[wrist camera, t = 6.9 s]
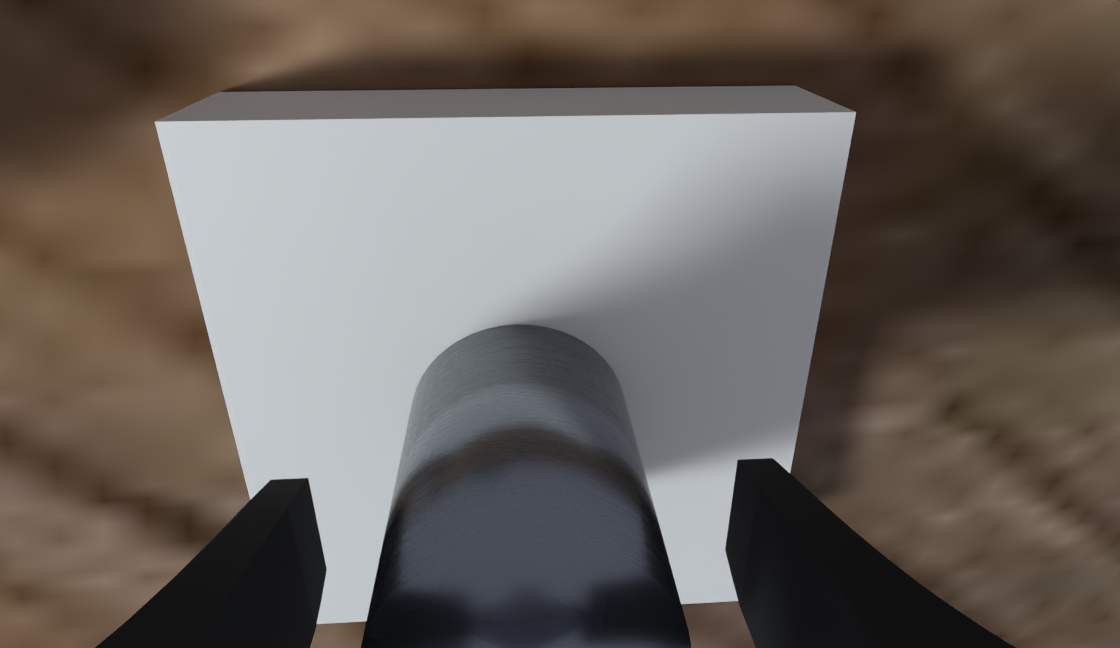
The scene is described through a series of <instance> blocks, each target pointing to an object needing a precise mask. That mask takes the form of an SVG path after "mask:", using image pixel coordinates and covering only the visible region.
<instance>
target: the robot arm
mask: <svg viewBox="0 0 1120 648" xmlns="http://www.w3.org/2000/svg"><path fill="white" fill-rule="evenodd" d="M725 551H726V555H727V559H728V563H729V567H730V571H731V575H732V579H733V583H734V587H735V590H736V594H737V598H738V601H739V605H740V608H741V610H742V613H743V616H744V618H745V621H746V623H747V626H748V629H749V631H750V634H751V636H752V639H753V641H754V644H755V646H756V648H1015V647H1014V646H1012V645H1010V644H1008V643H1007V642H1005V641H1004V640H1002V639H1000V638H999V637H997V636H996V635H994V634H993V633H991V632H989V631H988V630H986V629H985V628H983V627H981V626H980V625H979V624H977V623H976V622H974V621H973V620H971V619H970V618H968V617H967V616H965V615H964V614H962V613H961V612H959V611H958V610H956V609H955V608H953V607H952V606H950V605H949V604H947V603H946V602H944V601H943V600H942V599H940V598H939V597H937V596H936V595H935V594H933V593H932V592H930V591H929V590H928V589H926V588H925V587H924V586H922V585H921V584H919V583H918V582H917V581H916V580H914V579H913V578H912V577H910V576H909V575H908V574H907V573H905V572H904V571H903V570H901V569H900V568H899V567H897V566H896V565H895V564H894V563H892V562H891V561H890V560H888V559H887V558H886V557H885V556H883V555H882V554H881V553H880V552H879V551H877V550H876V549H875V548H874V547H872V546H871V545H870V544H869V543H868V542H866V541H865V540H864V539H863V538H862V537H860V536H859V535H858V534H857V533H856V532H855V531H853V530H852V529H851V528H850V527H849V526H848V525H846V524H845V523H844V522H843V521H842V520H841V519H840V518H838V517H837V516H836V515H835V514H834V513H833V512H832V511H831V510H829V509H828V508H827V507H826V506H825V505H824V504H823V503H822V502H821V501H819V500H818V499H817V498H816V497H815V496H814V495H813V494H812V493H811V492H810V491H808V490H807V489H806V488H805V487H804V486H803V485H802V484H801V483H800V482H799V481H798V480H796V479H795V478H794V477H793V476H792V475H791V474H790V473H789V472H788V471H787V470H786V469H784V468H783V467H782V466H781V465H780V464H779V463H778V462H777V461H775V460H774V459H773V458H765V459H742V460H738V461H737V468H736V475H735V482H734V490H733V497H732V504H731V511H730V518H729V525H728V533H727V540H726V547H725ZM326 571H327V569H326V564H325V559H324V554H323V549H322V544H321V539H320V534H319V529H318V524H317V519H316V514H315V509H314V504H313V499H312V494H311V489H310V484H309V480H308V478H298V479H275V480H270V481H269V482H268V483H267V484H266V485H265V486H264V487H263V488H262V489H261V490H260V491H259V492H258V493H257V494H256V495H255V496H254V497H253V498H252V499H251V500H250V501H249V502H248V503H247V504H246V505H245V506H244V507H243V508H242V509H241V510H240V511H239V512H238V514H237V515H236V516H235V517H234V518H233V519H232V520H231V521H230V522H229V523H228V524H227V525H226V526H225V527H224V528H223V529H222V530H221V531H220V532H219V533H218V534H217V535H216V536H215V537H214V538H213V539H212V540H211V541H210V542H209V543H208V544H207V545H206V546H205V547H204V548H203V549H202V550H201V551H200V552H199V553H198V554H197V555H196V556H195V557H194V558H193V559H192V560H191V561H190V562H189V563H188V564H187V565H186V566H185V567H184V568H183V569H182V570H181V571H180V572H179V573H178V574H177V575H176V576H175V577H174V578H173V579H172V580H171V581H170V582H169V583H168V584H167V585H166V586H165V587H163V588H162V589H161V590H160V591H159V592H158V593H157V594H156V595H155V596H154V597H153V598H151V599H150V600H149V601H148V602H147V603H146V604H145V605H144V606H143V607H142V608H141V609H140V610H138V611H137V612H136V613H135V614H134V615H133V616H132V617H131V618H130V619H129V620H127V621H126V622H125V623H124V624H123V625H122V626H120V627H119V628H118V629H117V630H116V631H115V632H113V633H112V634H111V635H110V636H109V637H107V638H106V639H105V640H104V641H103V642H101V643H100V644H99V645H98V646H97V647H95V648H310V645H311V642H312V639H313V635H314V632H315V629H316V624H317V619H318V614H319V609H320V604H321V599H322V593H323V588H324V582H325V577H326Z"/></svg>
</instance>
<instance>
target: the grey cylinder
mask: <svg viewBox="0 0 1120 648" xmlns="http://www.w3.org/2000/svg"><path fill="white" fill-rule="evenodd" d="M361 648H691V643H690V637H689V631H688V627H687V624H686V620H685V616H684V613H683V609H682V606H681V602H680V598H679V595H678V591H677V587H676V584H675V580H674V576H673V573H672V569H671V566H670V562H669V558H668V555H667V551H666V547H665V544H664V540H663V537H662V533H661V529H660V526H659V522H658V518H657V515H656V511H655V508H654V504H653V500H652V497H651V493H650V489H649V486H648V482H647V478H646V475H645V471H644V468H643V464H642V460H641V457H640V453H639V449H638V446H637V442H636V439H635V435H634V431H633V428H632V424H631V420H630V417H629V413H628V409H627V406H626V402H625V399H624V395H623V392H622V389H621V386H620V383H619V381H618V379H617V377H616V375H615V373H614V371H613V370H612V368H611V367H610V366H609V364H608V363H607V362H606V360H605V359H604V358H603V357H602V356H601V355H600V354H599V353H598V352H597V351H595V350H594V349H593V348H591V347H590V346H589V345H588V344H586V343H585V342H583V341H581V340H579V339H578V338H576V337H574V336H572V335H569V334H567V333H564V332H562V331H559V330H556V329H552V328H548V327H543V326H536V325H521V324H515V325H504V326H498V327H493V328H488V329H485V330H482V331H479V332H476V333H473V334H471V335H469V336H467V337H465V338H462V339H460V340H459V341H457V342H456V343H454V344H452V345H451V346H449V347H448V348H447V349H446V350H444V351H443V352H442V353H441V354H440V355H438V356H437V357H436V359H435V360H434V361H433V362H432V363H431V364H430V365H429V366H428V368H427V369H426V371H425V372H424V374H423V375H422V377H421V379H420V381H419V383H418V385H417V388H416V391H415V394H414V397H413V401H412V406H411V411H410V416H409V420H408V425H407V430H406V435H405V440H404V444H403V449H402V454H401V459H400V463H399V468H398V473H397V478H396V483H395V487H394V492H393V497H392V502H391V506H390V511H389V516H388V521H387V526H386V530H385V535H384V540H383V545H382V550H381V554H380V559H379V564H378V569H377V573H376V578H375V583H374V588H373V593H372V597H371V602H370V607H369V612H368V616H367V621H366V626H365V631H364V636H363V640H362V645H361Z"/></svg>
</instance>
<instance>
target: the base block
mask: <svg viewBox="0 0 1120 648" xmlns="http://www.w3.org/2000/svg"><path fill="white" fill-rule="evenodd" d="M855 116H856V112H855V111H853V110H850V109H848V108H846V107H843V106H841V105H839V104H836V103H834V102H832V101H830V100H827V99H825V98H823V97H820V96H818V95H816V94H813V93H811V92H809V91H807V90H804V89H802V88H800V87H797V86H707V87H618V88H529V89H440V90H351V91H262V92H218V93H216V94H214V95H211V96H209V97H207V98H205V99H203V100H201V101H198V102H196V103H194V104H192V105H190V106H188V107H185V108H183V109H181V110H179V111H177V112H174V113H172V114H170V115H168V116H166V117H164V118H161V119H159V120H157V121H155V125H156V129H157V133H158V137H159V141H160V145H161V149H162V153H163V157H164V161H165V164H166V168H167V172H168V176H169V180H170V184H171V188H172V192H173V196H174V200H175V204H176V208H177V212H178V216H179V220H180V224H181V228H182V232H183V236H184V240H185V244H186V248H187V252H188V255H189V259H190V263H191V267H192V271H193V275H194V279H195V283H196V287H197V291H198V295H199V299H200V303H201V307H202V311H203V315H204V319H205V323H206V327H207V331H208V335H209V339H210V342H211V346H212V350H213V354H214V358H215V362H216V366H217V370H218V374H219V378H220V382H221V386H222V390H223V394H224V398H225V402H226V406H227V410H228V414H229V418H230V422H231V426H232V430H233V433H234V437H235V441H236V445H237V449H238V453H239V457H240V461H241V465H242V469H243V473H244V477H245V481H246V485H247V489H248V493H249V497H250V500H251V499H252V498H253V497H254V496H255V495H256V494H257V493H258V492H259V491H260V490H261V489H262V488H263V487H264V486H265V485H266V484H267V483H268V482H269V481H270V480H275V479H298V478H308V480H309V484H310V489H311V494H312V499H313V504H314V509H315V514H316V519H317V524H318V529H319V534H320V539H321V544H322V549H323V554H324V559H325V564H326V569H327V571H326V577H325V582H324V588H323V593H322V599H321V604H320V609H319V614H318V619H317V624H326V623H344V622H362V621H367V616H368V612H369V607H370V602H371V597H372V593H373V588H374V583H375V578H376V573H377V569H378V564H379V559H380V554H381V550H382V545H383V540H384V535H385V530H386V526H387V521H388V516H389V511H390V506H391V502H392V497H393V492H394V487H395V483H396V478H397V473H398V468H399V463H400V459H401V454H402V449H403V444H404V440H405V435H406V430H407V425H408V420H409V416H410V411H411V406H412V401H413V397H414V394H415V391H416V388H417V385H418V383H419V381H420V379H421V377H422V375H423V374H424V372H425V371H426V369H427V368H428V366H429V365H430V364H431V363H432V362H433V361H434V360H435V359H436V357H437V356H438V355H440V354H441V353H442V352H443V351H444V350H446V349H447V348H448V347H449V346H451V345H452V344H454V343H456V342H457V341H459V340H460V339H462V338H465V337H467V336H469V335H471V334H473V333H476V332H479V331H482V330H485V329H488V328H493V327H498V326H504V325H515V324H521V325H536V326H543V327H548V328H552V329H556V330H559V331H562V332H564V333H567V334H569V335H572V336H574V337H576V338H578V339H579V340H581V341H583V342H585V343H586V344H588V345H589V346H590V347H591V348H593V349H594V350H595V351H597V352H598V353H599V354H600V355H601V356H602V357H603V358H604V359H605V360H606V362H607V363H608V364H609V366H610V367H611V368H612V370H613V371H614V373H615V375H616V377H617V379H618V381H619V383H620V386H621V389H622V392H623V395H624V399H625V402H626V406H627V409H628V413H629V417H630V420H631V424H632V428H633V431H634V435H635V439H636V442H637V446H638V449H639V453H640V457H641V460H642V464H643V468H644V471H645V475H646V478H647V482H648V486H649V489H650V493H651V497H652V500H653V504H654V508H655V511H656V515H657V518H658V522H659V526H660V529H661V533H662V537H663V540H664V544H665V547H666V551H667V555H668V558H669V562H670V566H671V569H672V573H673V576H674V580H675V584H676V587H677V591H678V595H679V598H680V602H681V604H691V603H709V602H727V601H738V598H737V594H736V590H735V587H734V583H733V579H732V575H731V571H730V567H729V563H728V559H727V555H726V551H725V547H726V540H727V533H728V525H729V518H730V511H731V504H732V497H733V490H734V482H735V475H736V468H737V461H738V460H742V459H765V458H773V459H774V460H775V461H777V462H778V463H779V464H780V465H781V466H782V467H783V468H784V469H786V470H787V471H788V472H789V473H790V472H791V466H792V461H793V455H794V450H795V444H796V439H797V433H798V428H799V422H800V417H801V411H802V406H803V400H804V395H805V390H806V384H807V379H808V373H809V368H810V362H811V357H812V351H813V346H814V340H815V335H816V329H817V324H818V318H819V313H820V308H821V302H822V297H823V291H824V286H825V280H826V275H827V269H828V264H829V258H830V253H831V247H832V242H833V236H834V231H835V226H836V220H837V215H838V209H839V204H840V198H841V193H842V187H843V182H844V176H845V171H846V165H847V160H848V154H849V149H850V144H851V138H852V133H853V127H854V122H855Z"/></svg>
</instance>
